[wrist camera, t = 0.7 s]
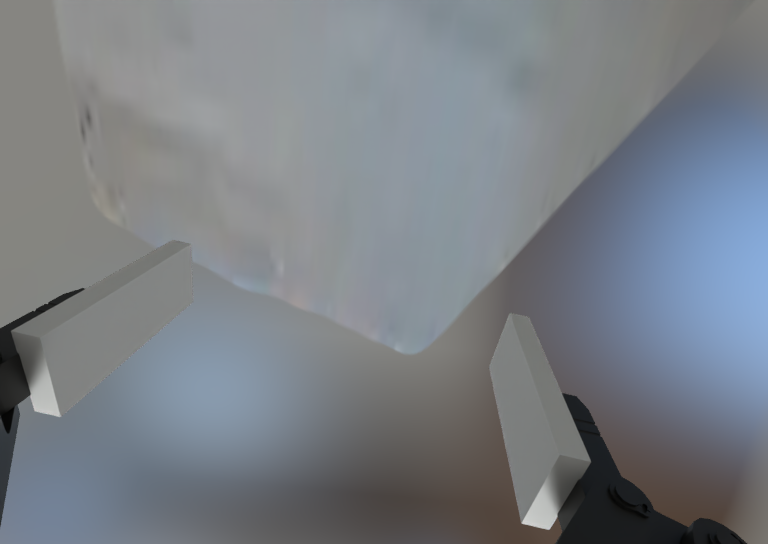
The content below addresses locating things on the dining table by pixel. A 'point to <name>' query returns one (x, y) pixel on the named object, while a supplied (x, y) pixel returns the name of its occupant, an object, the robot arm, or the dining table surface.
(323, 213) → the dining table surface
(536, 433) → the robot arm
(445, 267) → the dining table surface
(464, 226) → the dining table surface
